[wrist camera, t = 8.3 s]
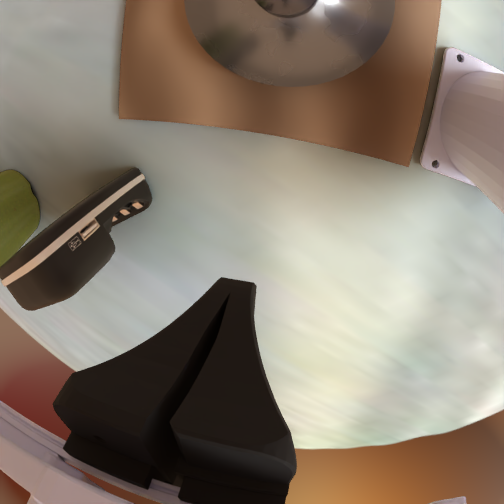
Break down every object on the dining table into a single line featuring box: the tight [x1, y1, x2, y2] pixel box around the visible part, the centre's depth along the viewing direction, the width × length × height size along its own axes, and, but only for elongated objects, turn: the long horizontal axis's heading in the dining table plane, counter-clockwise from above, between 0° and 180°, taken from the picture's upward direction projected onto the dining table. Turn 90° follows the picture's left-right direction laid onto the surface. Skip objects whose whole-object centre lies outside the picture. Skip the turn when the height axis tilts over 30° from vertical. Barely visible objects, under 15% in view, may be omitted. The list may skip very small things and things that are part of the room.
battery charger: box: [0, 168, 152, 311], centre depth 19 cm, size 7×4×11 cm, turn 116°
